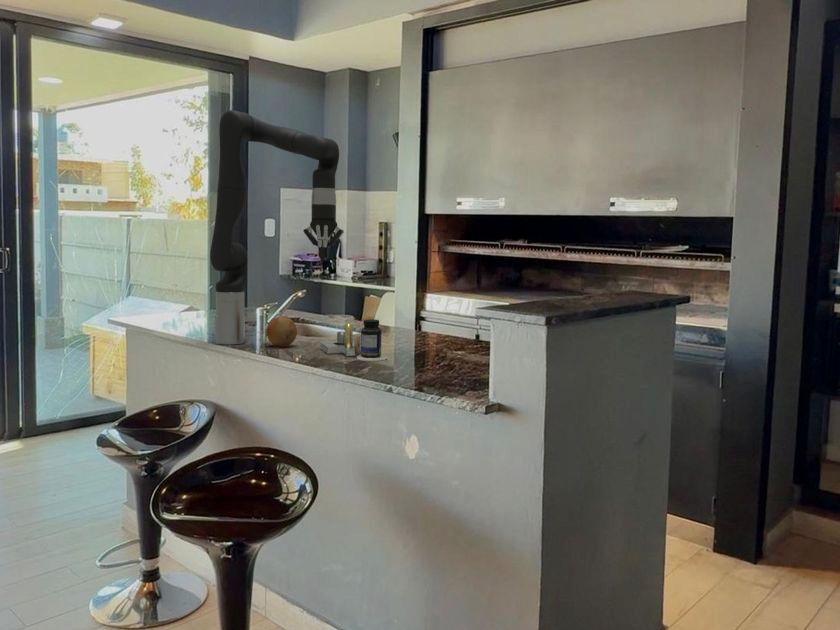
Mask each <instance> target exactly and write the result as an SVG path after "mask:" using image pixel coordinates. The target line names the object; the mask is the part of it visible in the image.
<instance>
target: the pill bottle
mask: <svg viewBox="0 0 840 630" xmlns="http://www.w3.org/2000/svg"><path fill="white" fill-rule="evenodd" d="M379 325H380V319H371V318H370V319H364V320H363V326H364V327H362V328H361V330H360V343H361V352H360V355H361V356H362V357H365V358H377V357H380V356H381V355H382V331H383V330H382V329H381V328H380V327H379Z"/></svg>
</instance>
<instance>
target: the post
mask: <svg viewBox="0 0 840 630" xmlns="http://www.w3.org/2000/svg"><path fill="white" fill-rule="evenodd" d="M336 338H337V339H336V341H337V345H345V331H336Z"/></svg>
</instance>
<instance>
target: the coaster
mask: <svg viewBox="0 0 840 630" xmlns="http://www.w3.org/2000/svg"><path fill="white" fill-rule="evenodd" d="M387 358H388V356H387V355H383V354H381V356H380V357H377V358H365V357H362V356H361V354H360V355H359V356H356V360H358V361H362V362H363V361H364V362H381V361H382V362H383V361H387Z"/></svg>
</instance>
